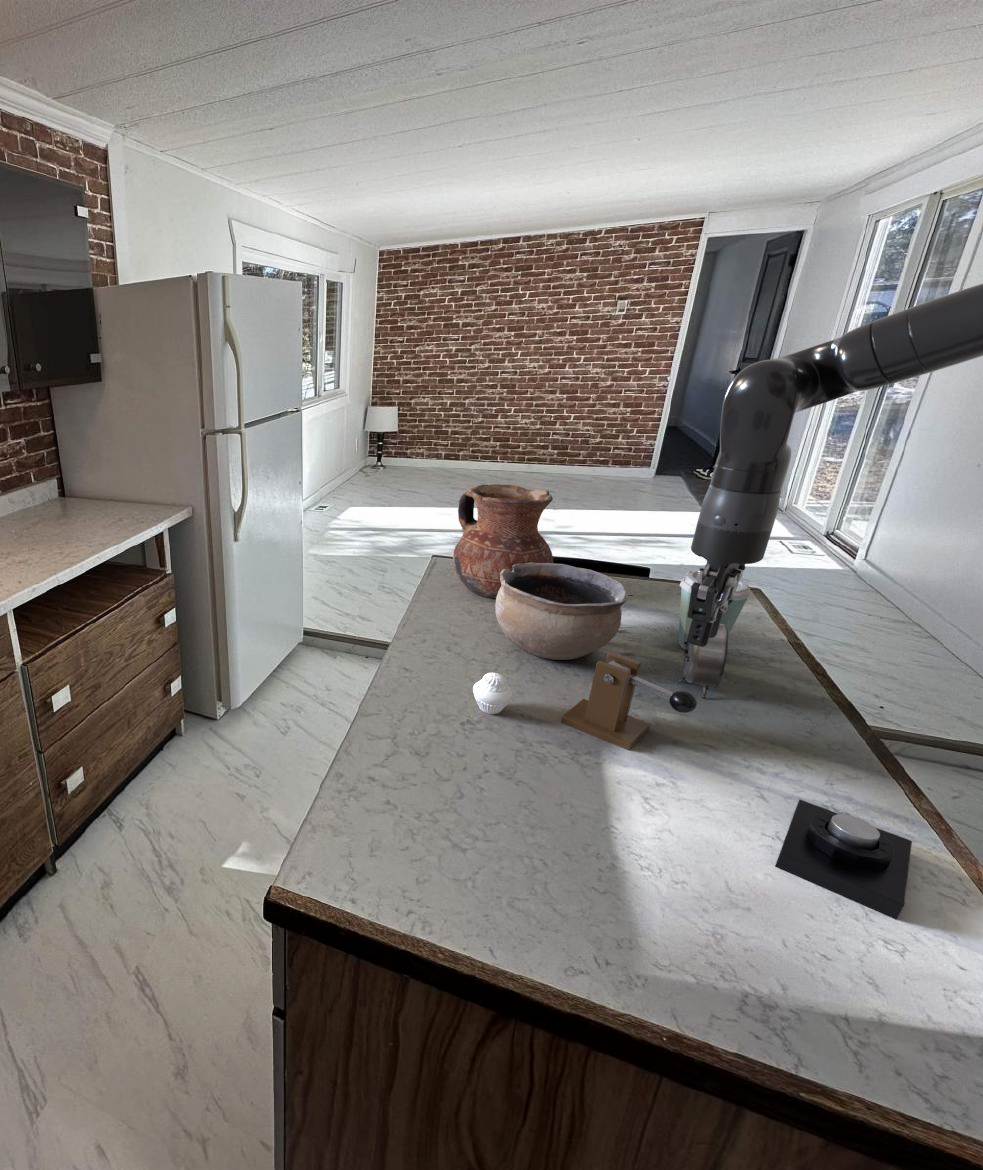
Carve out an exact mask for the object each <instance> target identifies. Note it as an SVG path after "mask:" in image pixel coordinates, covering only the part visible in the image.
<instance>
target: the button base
mask: <svg viewBox="0 0 983 1170" xmlns="http://www.w3.org/2000/svg"><path fill="white" fill-rule="evenodd" d="M837 814H839V813H838V812H835V811H832V810H830V809H827V808H824V807H821V806H819V805H816V804H814V803H812V802H811V803H810V802H808V801H805V800H802V799H798V802H797V804H796V807H795V809H794V812H793V815H792V817H791V819H790V820H791V821H790V823H789V825H788V829H787V832H786V834H785V837H784V840H783V843H782V846H781V848H780V852H779V854H778V857H777V859H776V862H775V865H774V866H775V868H777V869H780V870H782V871H784V872H786V873H788V874H790V875H793V876H795V877H797V878H800V879H802V880H804V881H807V882H808V883H811V884H814V885H816V886H818V887H819V888H820V887H821V888H822V889H825V890H827V891H829V892H831V893H834V894H836V895H838V896H841V897H843V898H846V899H848V900H850V901H852V902H855V903H857V904H859V905H861V906H864V907H866V908H868V909H871V910H873V911H875V912H878V913H880V914H882V915H885V916H886V917H889V918H891V919H894V920H898V918H899V916H900V914H901V912H902V910H903V909H904V906H905V900H906V892H907V883H908V875H909V868H910V860H911V852H912V844H913V840H910V839H908V838H905V837H902V836H900V835H897V834H895V833H891V832H889V831H887V830H884V829H882V828H878V827H876V826H874V827H875V828H876V829H877V830H878V831H879V833H880V837H879V839H878V842H877V844H876V846H875V848H874V849H873V850H864V849H858V848H855V847H852V846H850V845H847V844H845V843H842V842H840V841H839V840H837V839H836V838H834V837H832V836H831V835H830V834H829V833H828V831H827V828H828V826H829V823H830V821H831V819H832V817H833V816H834V815H837Z"/></svg>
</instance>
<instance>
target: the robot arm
mask: <svg viewBox="0 0 983 1170" xmlns="http://www.w3.org/2000/svg"><path fill="white" fill-rule="evenodd" d="M980 357H983V283H979V284H977V285H973V286H970V287H967V288H963V289H961V290H958V291H954V292H951V293H949V294H946V295H941V296H939V297H937V298H933V299H930V300H928V301H924V302H923V303H920V304H917V305H914V306H911V307H909V308H906V309H903V310H901V311H897V312H895V313H892V314H889V315H887V316H884V317H881V318H878V319H875V320H873V321H870V322H867V323H865V324H863V325H860V326H858V327H856V328H854V329H851V330H849V331H847V332H846V333H844V334H842V335H840V337H838V338H835V339H832V340H828V341H826V342H822V343H820V344H817V345H814V346H811V347H808V348H805V349H802V350H798V351H796V352H793V353H789V354H787V355H783V356H780V357H777V358H771V359H764V360H759V361H757V362H754V363H751V364H750V365H748V366H746V367H744V368H743V369H742V370H740V371H739V372H738V373H737V374H736V375H735V376H734V378H732V380H731V382H730V383H729V385H728V387H727V389H726V392H725V395H724V398H723V401H722V407H721V416H720V430H719V452H718V454H717V457H716V460H715V464H714V467H713V472H712V475H711V479H710V483H709V486H708V489H707V491H706V493H705V495H704V497H703V501H702V504H701V507H700V511H699V515H698V518H697V523H696V525H695V531H694V535H693V538H692V542H691V545H690V550H691V552H692V553H693V554H694V555H696V556H697V557H701V558H703V559H704V560H706V564H705V565H704V567H700V568H698V569H699V571H698V574H697V577H696V580H697V583H696V582H694V583H693V585H692V586H691V595H690V602H689V609H688V613H687V615H688V618H691V619H692V622H691V626H690V630H689V633H688V637H687V642H688V643H690V644H693V645H696V646H700V647H704V646H706V645H707V644H708V640H709V638H714V637H715V636H716V635H717V632H718V629H719V625H720V622H721V619H722V615H723V613H725V611H727V609H728V607H727V605H730V604H731V603H732V601H733V600H732V599H733V596H734V595H735V592H736V589H737V586H738V583H739V581H740V579H741V580H742V578H743V573H744V571H745V570H746V565H752V564H757V563H759V562H761V561H763V559H764V558H765V555H766V551H767V548H768V545H769V540H770V538H771V535H772V532H773V528H774V525H775V521H776V519H777V516H778V512H779V508H780V499H781V494H782V490H783V487H784V484H785V481H786V477H787V474H788V471H789V467H790V463H791V459H792V448H791V446H790V445H789V444H788V439H789V436H790V433H791V428H792V425H793V420H794V417H795V414H796V413H799V412H802V411H804V410H807V409H811V408H814V407H816V406H819V405H823V404H825V403H829V402H832V401H835V400H837V399H840V398H843V397H847V396H850V395H853V394H854V393H857V392H863V391H869V390H870V391H871V390H874V389H877V388H878V389H879V388H883V387H887V386H890V385H893V384H897V383H899V382H903V381H907V380H910V379H913V378H917V377H920V376H923V375H926V374H927V375H928V374H929V373H934V372H937V371H939V370H943V369H946V368H949V367H953V366H955V365H959V364H963V363H965V362H968V361H971V360H974V359H978V358H980ZM700 608H701V609H703V610H702V611H699V610H700ZM721 612H723V613H721Z"/></svg>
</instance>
